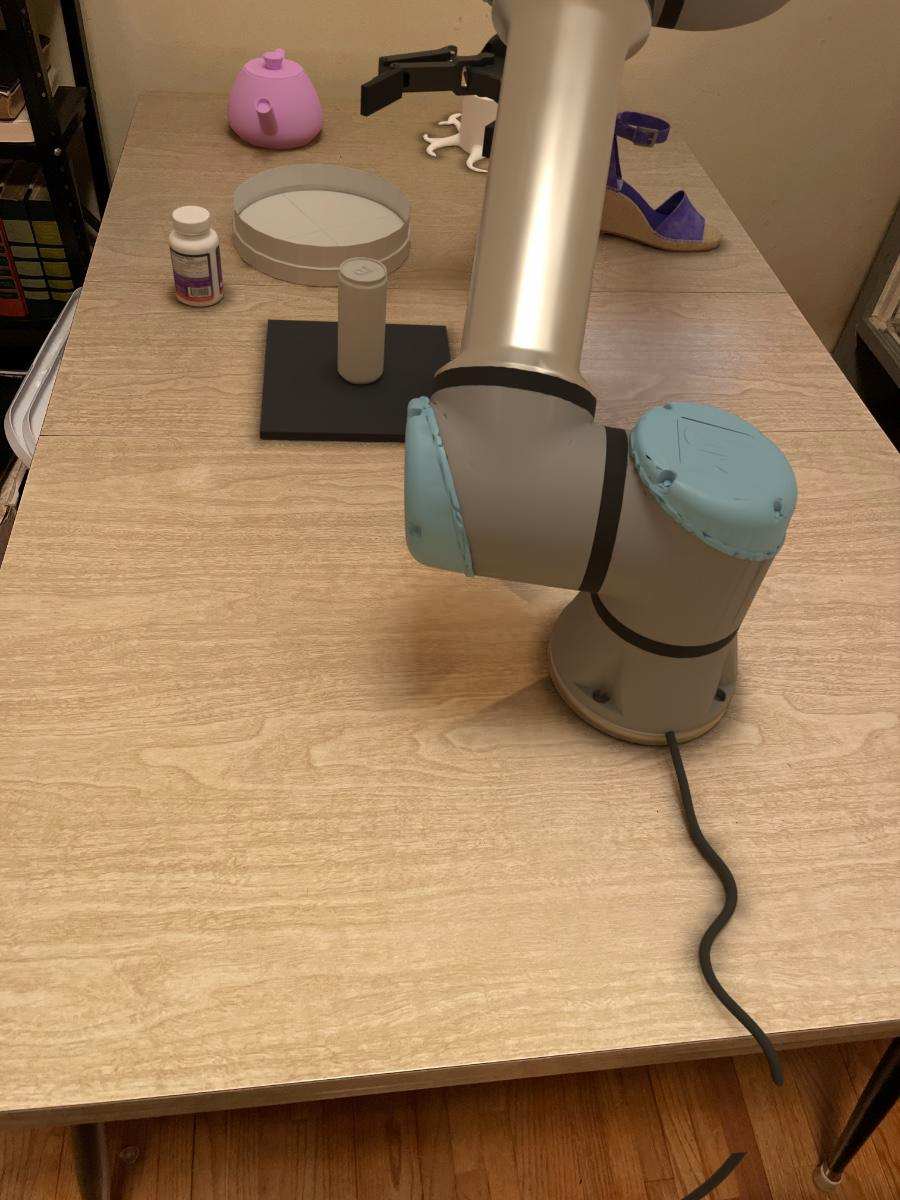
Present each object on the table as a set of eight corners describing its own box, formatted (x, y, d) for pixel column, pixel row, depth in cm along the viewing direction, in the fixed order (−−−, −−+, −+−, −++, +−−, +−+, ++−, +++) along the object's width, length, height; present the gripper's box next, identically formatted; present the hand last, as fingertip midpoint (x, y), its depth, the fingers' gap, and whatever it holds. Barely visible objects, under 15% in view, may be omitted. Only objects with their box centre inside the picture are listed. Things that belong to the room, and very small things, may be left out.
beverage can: (392, 375, 102) (398, 271, 93) (359, 392, 100) (362, 287, 91) (361, 355, 104) (364, 251, 95) (327, 371, 101) (327, 266, 93)
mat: (461, 443, 97) (462, 435, 96) (260, 439, 95) (259, 431, 94) (445, 332, 110) (446, 325, 110) (268, 326, 108) (267, 318, 107)
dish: (443, 263, 121) (447, 225, 117) (285, 303, 111) (284, 263, 108) (353, 188, 132) (354, 151, 129) (203, 219, 123) (200, 180, 119)
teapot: (216, 159, 134) (210, 78, 127) (238, 103, 148) (233, 26, 140) (316, 168, 135) (315, 88, 127) (328, 112, 149) (328, 36, 141)
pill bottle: (197, 278, 113) (188, 197, 106) (233, 293, 112) (227, 212, 105) (165, 297, 110) (154, 215, 103) (203, 313, 108) (194, 231, 101)
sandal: (719, 262, 128) (755, 147, 117) (572, 234, 129) (595, 119, 118) (719, 234, 134) (755, 122, 122) (579, 208, 135) (601, 95, 124)
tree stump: (574, 153, 147) (584, 97, 141) (490, 186, 137) (497, 127, 131) (478, 108, 155) (484, 53, 150) (392, 136, 145) (395, 78, 139)
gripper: (622, 131, 103) (534, 201, 90) (424, 68, 110) (315, 124, 97) (639, 55, 98) (548, 118, 85) (429, -6, 105) (315, 43, 91)
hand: (423, 121), depth 91 cm, fingers open, 13 cm apart
